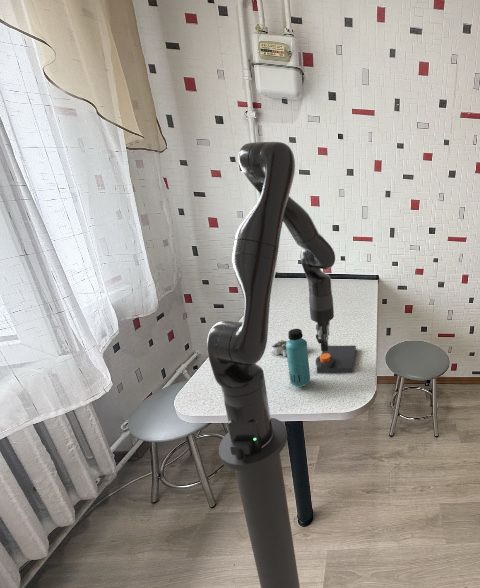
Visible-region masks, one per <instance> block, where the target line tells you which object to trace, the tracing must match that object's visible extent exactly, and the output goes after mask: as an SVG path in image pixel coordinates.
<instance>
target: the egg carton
mask: <svg viewBox="0 0 480 588" xmlns="http://www.w3.org/2000/svg"><path fill="white" fill-rule="evenodd" d="M288 341H289V340H285V339H281V340H278V341H277V342H276V343H274V344H272V345H271V348H273V352H274V355H275V356H279V355H282V357H286V358H287V351H286V350H287V349H286V343H287V342H288Z"/></svg>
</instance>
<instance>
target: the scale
mask: <svg viewBox="0 0 480 588" xmlns="http://www.w3.org/2000/svg"><path fill="white" fill-rule="evenodd" d="M356 352H357V345H328V351H321V354H324V353H328V354H330V356H331V360H330V361H329V362H327V363H322V362H320V355H319V356H317V357H316V358H315V365H316V374H322V373H323V374H324V373H325V374H328V373H353V370H354V364H355V358H356V357H355V356H356Z"/></svg>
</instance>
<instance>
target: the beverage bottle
mask: <svg viewBox="0 0 480 588" xmlns="http://www.w3.org/2000/svg"><path fill="white" fill-rule="evenodd" d="M287 336H288V339H289V340H287V341H288V342H287V343H286V349H287V350H286V351H287V356H286V360H287V366H288V375H289V376H288V378H289V383H290V384H291V385H292V386H293V387H304V386H306V385H308V384H309V383H310V381H311V371H310V370H311V368H310V363H309V362H310V361H309V353H308V352H309V351H308V341H307V340H306V339H305V338H303V337H304V336H303V331H302V329H300V328H292V329H290V330H289V331H288V335H287Z"/></svg>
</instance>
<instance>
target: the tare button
mask: <svg viewBox="0 0 480 588" xmlns="http://www.w3.org/2000/svg"><path fill="white" fill-rule="evenodd" d="M319 356H320V362H322V363H327V362H329V361H330V360H331V356H330V354H328V353H324V354H322V353H321V354H320V355H319Z"/></svg>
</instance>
